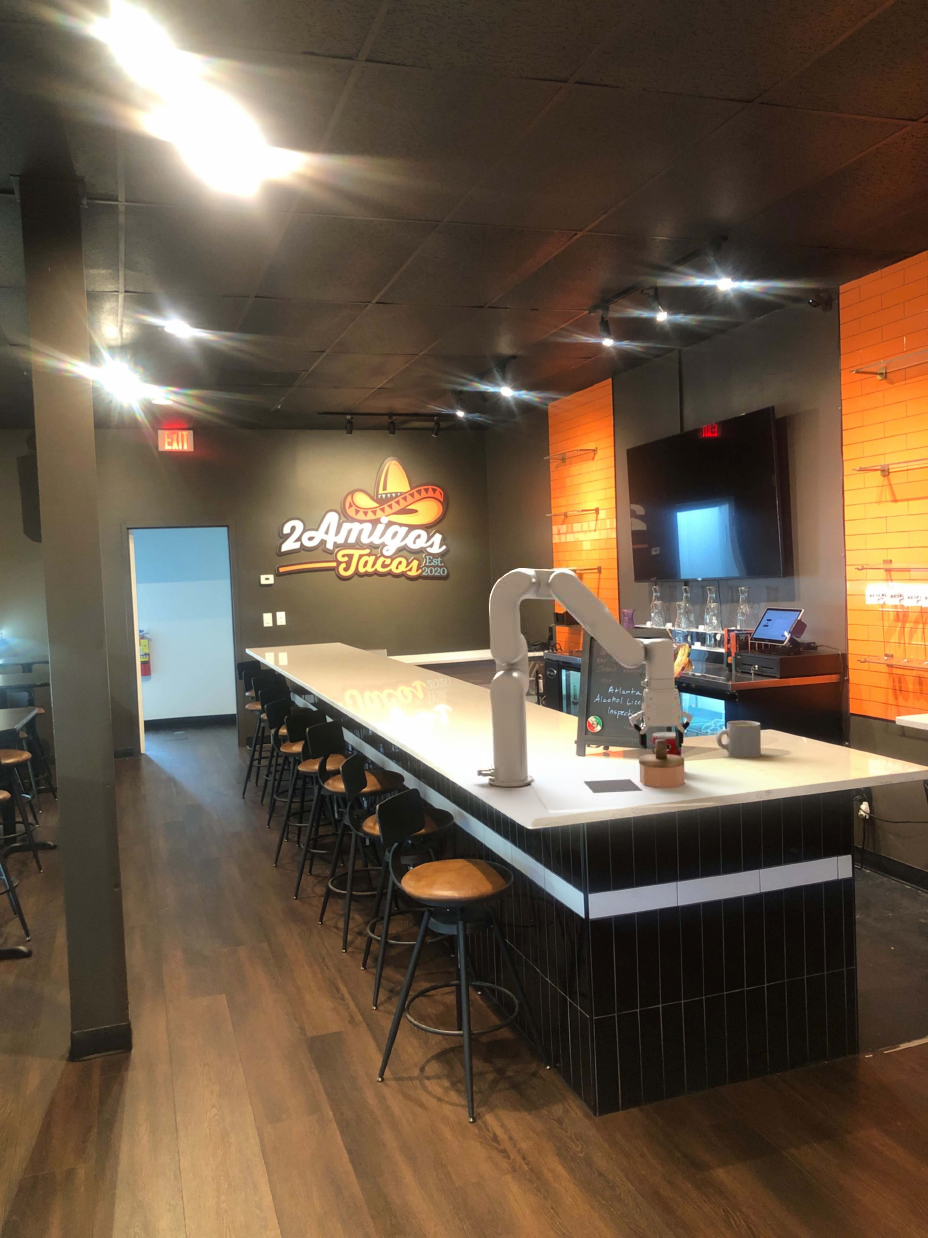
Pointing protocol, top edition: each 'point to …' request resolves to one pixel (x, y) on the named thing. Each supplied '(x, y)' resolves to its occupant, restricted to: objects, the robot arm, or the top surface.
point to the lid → (661, 757)
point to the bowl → (662, 776)
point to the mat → (612, 786)
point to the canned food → (671, 742)
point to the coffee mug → (741, 739)
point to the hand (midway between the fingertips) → (661, 747)
